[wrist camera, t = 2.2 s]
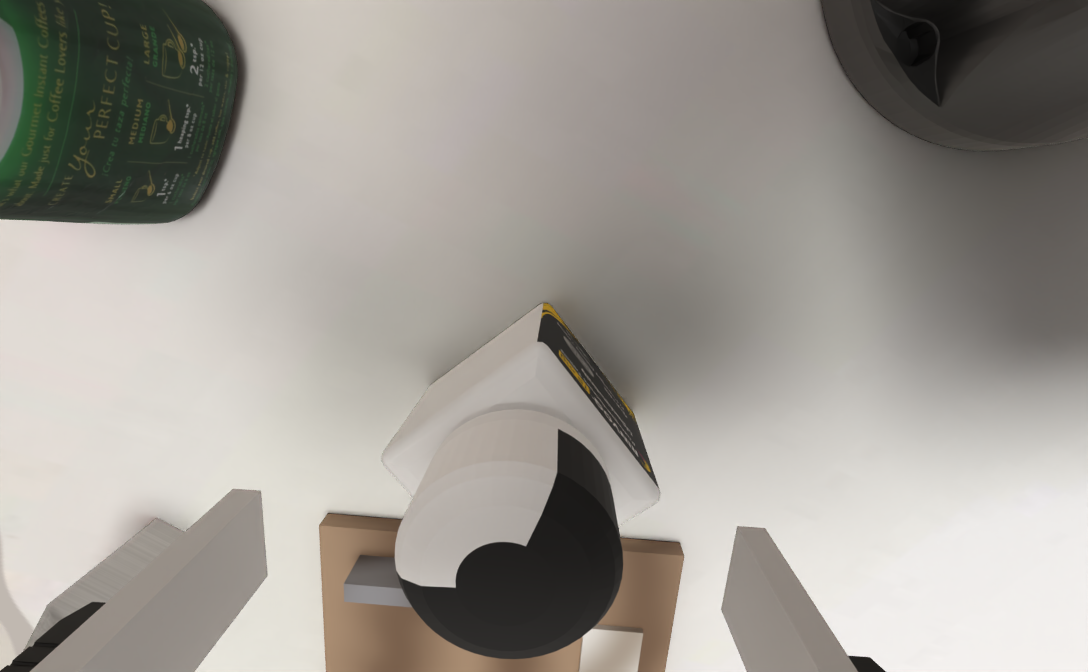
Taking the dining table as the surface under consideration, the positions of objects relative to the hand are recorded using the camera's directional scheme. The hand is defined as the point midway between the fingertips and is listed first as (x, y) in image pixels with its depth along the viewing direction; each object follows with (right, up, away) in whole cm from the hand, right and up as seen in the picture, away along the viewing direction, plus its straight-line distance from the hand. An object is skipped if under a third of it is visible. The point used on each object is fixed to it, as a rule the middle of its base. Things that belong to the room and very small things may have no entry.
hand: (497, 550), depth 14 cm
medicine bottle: (+1, +3, +10) cm, 11 cm away
